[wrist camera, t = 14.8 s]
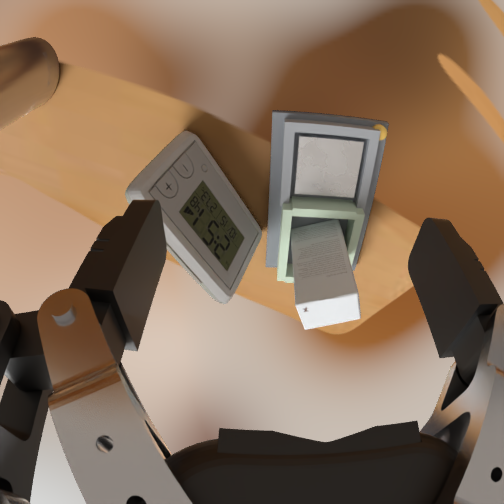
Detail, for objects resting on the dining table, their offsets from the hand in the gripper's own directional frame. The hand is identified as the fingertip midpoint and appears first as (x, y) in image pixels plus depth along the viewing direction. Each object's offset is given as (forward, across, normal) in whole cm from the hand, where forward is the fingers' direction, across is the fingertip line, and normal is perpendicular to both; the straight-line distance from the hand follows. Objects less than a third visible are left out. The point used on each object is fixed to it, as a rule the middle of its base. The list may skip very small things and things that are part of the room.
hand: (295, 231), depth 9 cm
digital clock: (+25, +6, +13) cm, 29 cm away
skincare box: (+24, -6, +18) cm, 31 cm away
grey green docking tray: (+25, -6, +13) cm, 29 cm away
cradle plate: (+24, -6, +8) cm, 26 cm away
